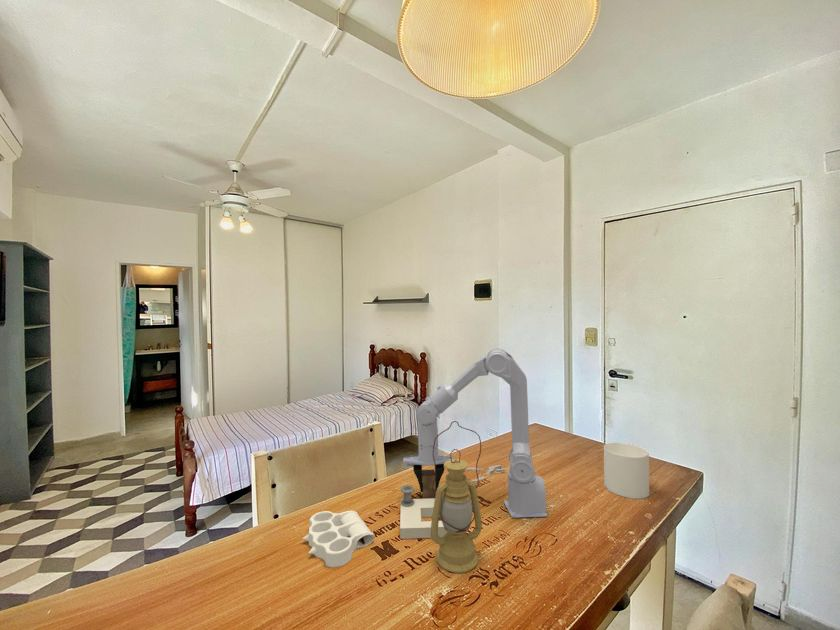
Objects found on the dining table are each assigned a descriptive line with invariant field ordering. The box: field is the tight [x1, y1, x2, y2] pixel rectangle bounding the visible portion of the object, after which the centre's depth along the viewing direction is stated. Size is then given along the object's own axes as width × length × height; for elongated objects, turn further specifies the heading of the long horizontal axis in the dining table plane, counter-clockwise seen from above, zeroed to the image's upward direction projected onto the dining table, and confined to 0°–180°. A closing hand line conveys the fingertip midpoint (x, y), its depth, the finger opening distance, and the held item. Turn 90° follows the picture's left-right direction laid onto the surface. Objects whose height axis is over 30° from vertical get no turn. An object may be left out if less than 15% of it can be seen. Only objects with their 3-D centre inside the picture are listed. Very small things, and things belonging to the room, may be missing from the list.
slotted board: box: [399, 484, 447, 540], centre depth 89 cm, size 12×13×6 cm
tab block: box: [422, 469, 436, 499], centre depth 100 cm, size 4×4×7 cm
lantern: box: [430, 420, 483, 574], centre depth 76 cm, size 12×10×30 cm
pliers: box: [465, 464, 506, 483], centre depth 116 cm, size 10×2×15 cm
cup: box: [603, 442, 650, 500], centre depth 104 cm, size 12×12×12 cm
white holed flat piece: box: [301, 510, 375, 568], centre depth 82 cm, size 3×18×15 cm
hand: (428, 490), depth 100 cm, fingers closed on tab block, 4 cm apart
